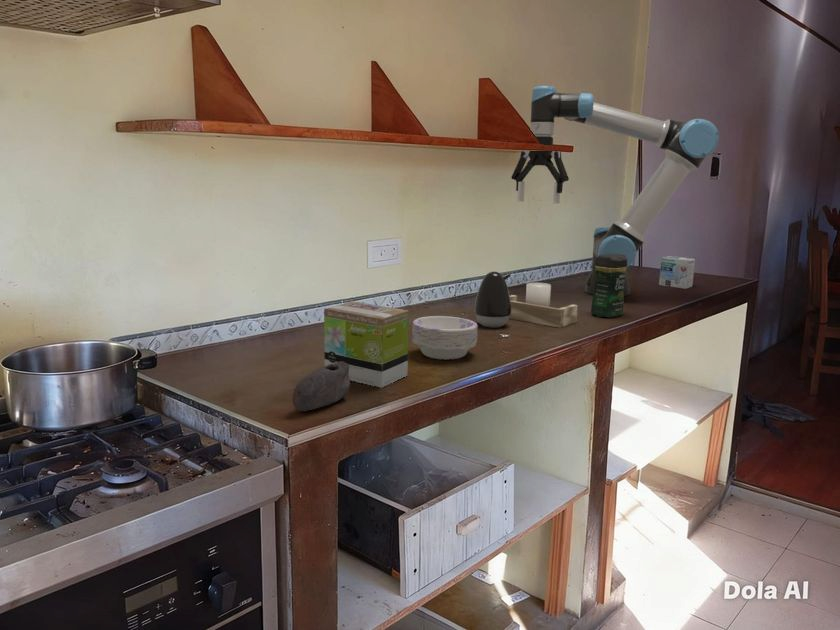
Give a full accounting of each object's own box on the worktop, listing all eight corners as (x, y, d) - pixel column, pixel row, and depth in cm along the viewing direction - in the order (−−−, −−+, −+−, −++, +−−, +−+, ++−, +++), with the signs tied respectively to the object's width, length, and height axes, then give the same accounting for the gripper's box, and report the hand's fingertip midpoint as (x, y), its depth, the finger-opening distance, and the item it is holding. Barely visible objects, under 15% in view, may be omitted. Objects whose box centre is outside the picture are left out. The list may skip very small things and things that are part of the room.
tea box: (322, 376, 147) (322, 307, 144) (351, 365, 155) (351, 299, 152) (382, 389, 139) (382, 316, 136) (409, 377, 147) (410, 308, 144)
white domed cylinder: (533, 314, 210) (534, 281, 208) (553, 318, 206) (555, 284, 204) (520, 318, 205) (521, 284, 203) (540, 322, 201) (542, 287, 199)
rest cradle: (511, 310, 215) (512, 294, 214) (576, 322, 201) (577, 305, 200) (494, 315, 208) (494, 299, 207) (560, 327, 194) (561, 310, 193)
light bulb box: (658, 285, 266) (660, 257, 264) (665, 283, 271) (667, 255, 269) (686, 289, 260) (689, 260, 257) (692, 286, 265) (695, 258, 262)
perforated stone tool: (304, 420, 122) (303, 381, 120) (282, 413, 125) (281, 376, 123) (358, 397, 134) (358, 362, 133) (337, 392, 137) (337, 357, 136)
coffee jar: (608, 319, 206) (613, 256, 202) (586, 314, 211) (590, 253, 207) (627, 315, 212) (632, 254, 208) (605, 311, 218) (610, 251, 214)
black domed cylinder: (518, 327, 194) (521, 273, 190) (487, 331, 189) (489, 275, 185) (497, 320, 202) (499, 267, 199) (466, 323, 197) (468, 270, 194)
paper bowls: (489, 355, 165) (491, 322, 163) (444, 367, 155) (445, 332, 153) (443, 343, 176) (444, 312, 174) (398, 353, 165) (398, 320, 164)
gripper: (503, 136, 233) (500, 200, 237) (570, 135, 217) (566, 204, 222) (515, 137, 239) (512, 200, 243) (581, 136, 223) (577, 203, 227)
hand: (538, 202), depth 232 cm, fingers open, 13 cm apart
